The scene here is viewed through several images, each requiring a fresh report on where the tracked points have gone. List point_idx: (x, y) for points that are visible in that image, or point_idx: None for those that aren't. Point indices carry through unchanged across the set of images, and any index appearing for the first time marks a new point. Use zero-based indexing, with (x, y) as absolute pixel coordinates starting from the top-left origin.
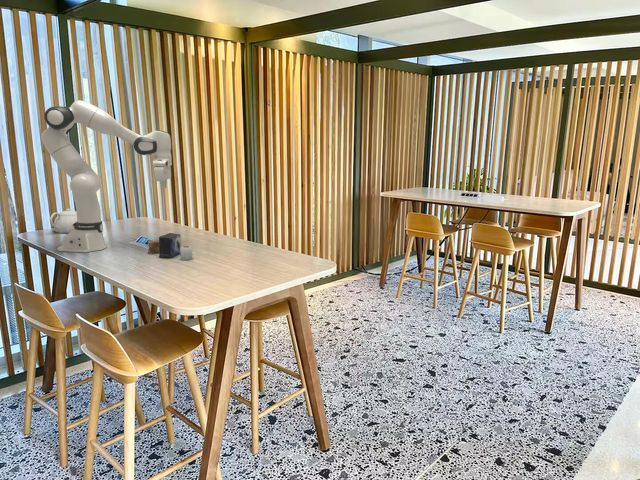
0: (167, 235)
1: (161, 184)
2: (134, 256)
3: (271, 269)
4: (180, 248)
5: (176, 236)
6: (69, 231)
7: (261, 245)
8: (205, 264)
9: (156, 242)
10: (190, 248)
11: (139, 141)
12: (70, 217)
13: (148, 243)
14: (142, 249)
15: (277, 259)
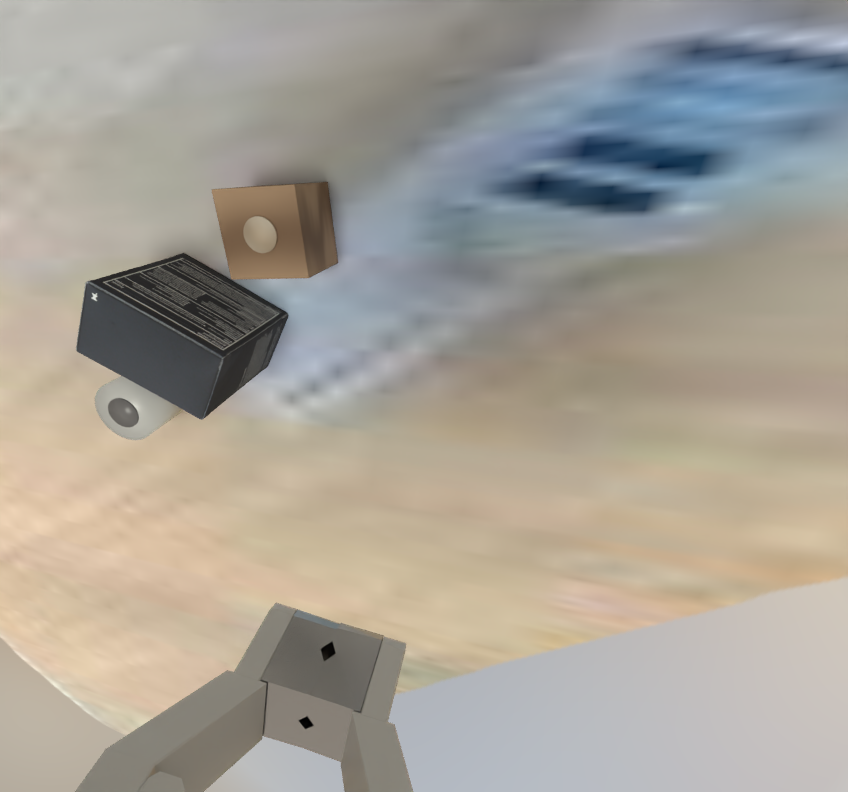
0: (132, 339)
1: (198, 696)
2: (197, 90)
3: (69, 611)
4: (111, 381)
5: (155, 391)
6: None
7: (401, 688)
8: (91, 446)
9: (225, 248)
10: (113, 427)
11: None
12: None
13: (215, 190)
14: (385, 128)
15: (186, 661)
